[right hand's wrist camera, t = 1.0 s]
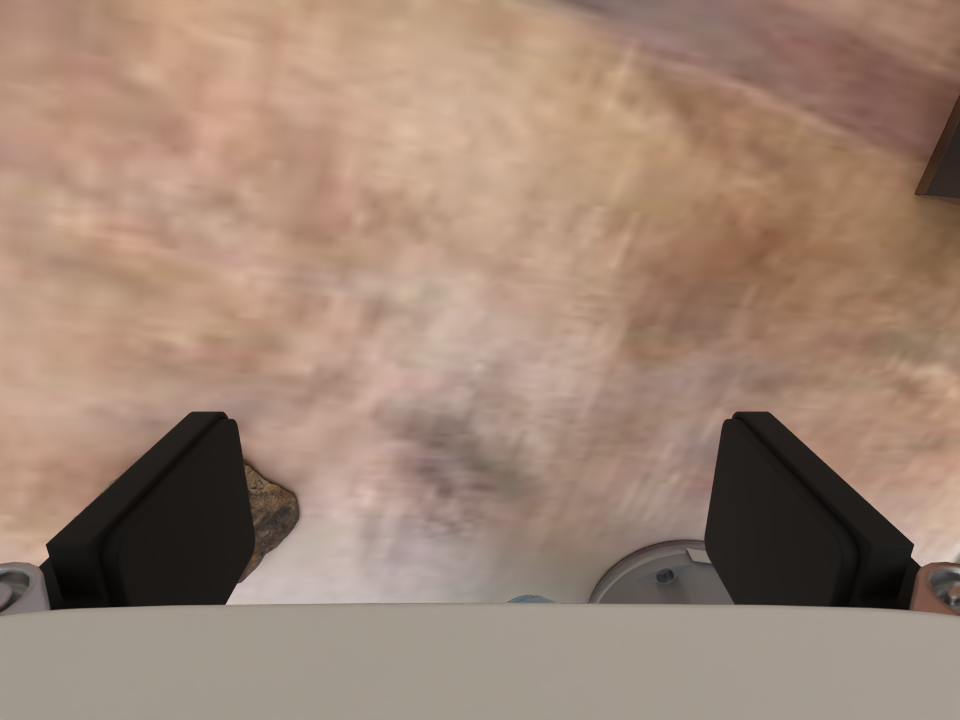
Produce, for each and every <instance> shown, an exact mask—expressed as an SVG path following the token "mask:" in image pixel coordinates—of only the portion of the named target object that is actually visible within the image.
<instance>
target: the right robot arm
mask: <svg viewBox="0 0 960 720" xmlns="http://www.w3.org/2000/svg"><path fill="white" fill-rule="evenodd" d="M255 541H256V539H255V531H254V524H253V518H252V512H251V506H250V499H249V493H248V487H247V481H246V474H245V468H244V462H243V456H242V449H241V443H240V437H239V431H238V426H237V423H236V421H235V420H234V419H228V417H227V415H226V414H225V413H224V412H191V413H189V414H188V415H187V416H186V417H185V418H184V419H183V420H181V421H180V422H179V423H178V424H177V425H176V426H175V427H174V428H173V429H172V430H171V431H169V432H168V433H167V434H166V435H165V436H164V437H163V438H162V439H161V440H160V441H159V442H157V443H156V444H155V445H154V446H153V447H152V448H151V449H150V450H149V451H148V452H147V453H145V454H144V455H143V456H142V457H141V458H140V459H139V460H138V461H137V462H136V463H134V464H133V465H132V466H131V467H130V468H129V469H128V470H127V471H126V472H125V473H124V474H122V475H121V476H120V477H119V478H118V479H117V480H116V481H115V482H114V483H113V484H112V485H110V486H109V487H108V488H107V489H106V490H105V491H104V492H103V493H102V494H101V495H100V496H98V497H97V498H96V499H95V500H94V501H93V502H92V503H91V504H90V505H89V506H87V507H86V508H85V509H84V510H83V511H82V512H81V513H80V514H79V515H78V516H77V517H75V518H74V519H73V520H72V521H71V522H70V523H69V524H68V525H67V526H66V527H65V528H63V529H62V530H61V531H60V532H59V533H58V534H57V535H56V536H55V537H54V538H53V539H51V540H50V541H49V542H48V543H47V544H46V547H47V550H48V553H49V558H48V559H47V560H46V561H45V562H44V563H43V564H41V565H40V566H39V567H37V566H35V565H33V564H30V563H22V562H11V563H3V564H0V720H960V564H957V563H949V562H938V563H930V564H927V565H925V566H923V567H921V566H920V565H919V564H917V563H916V562H915V561H914V560H913V559H912V558H911V553H912V550H913V547H914V544H913V543H912V542H911V541H910V540H909V539H907V538H906V537H905V536H904V535H903V534H902V533H901V532H900V531H899V530H898V529H897V528H895V527H894V526H893V525H892V524H891V523H890V522H889V521H888V520H887V519H886V518H885V517H883V516H882V515H881V514H880V513H879V512H878V511H877V510H876V509H875V508H874V507H873V506H871V505H870V504H869V503H868V502H867V501H866V500H865V499H864V498H863V497H862V496H860V495H859V494H858V493H857V492H856V491H855V490H854V489H853V488H852V487H851V486H850V485H848V484H847V483H846V482H845V481H844V480H843V479H842V478H841V477H840V476H839V475H838V474H836V473H835V472H834V471H833V470H832V469H831V468H830V467H829V466H828V465H827V464H826V463H824V462H823V461H822V460H821V459H820V458H819V457H818V456H817V455H816V454H815V453H813V452H812V451H811V450H810V449H809V448H808V447H807V446H806V445H805V444H804V443H803V442H801V441H800V440H799V439H798V438H797V437H796V436H795V435H794V434H793V433H792V432H791V431H789V430H788V429H787V428H786V427H785V426H784V425H783V424H782V423H781V422H780V421H779V420H777V419H776V418H775V417H774V416H773V415H772V414H771V413H769V412H736V413H735V414H734V415H733V417H732V419H726V420H725V421H724V423H723V426H722V431H721V437H720V443H719V449H718V456H717V462H716V468H715V474H714V481H713V487H712V493H711V499H710V506H709V512H708V518H707V524H706V531H705V539H704V541H705V549H706V553H707V555H708V558H709V559H710V561H711V563H712V565H713V567H714V568H715V570H716V572H717V574H718V576H719V577H720V579H721V581H722V583H723V585H724V586H725V588H726V590H727V592H728V594H729V595H730V597H731V599H732V601H733V603H734V604H735V605H695V604H583V603H355V604H266V605H225V604H226V603H227V601H228V599H229V597H230V595H231V594H232V592H233V590H234V588H235V586H236V585H237V583H238V581H239V579H240V577H241V576H242V574H243V572H244V570H245V568H246V567H247V565H248V563H249V561H250V559H251V558H252V555H253V553H254V549H255Z"/></svg>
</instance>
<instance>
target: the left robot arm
mask: <svg viewBox="0 0 960 720" xmlns="http://www.w3.org/2000/svg"><path fill="white" fill-rule="evenodd" d="M507 603H555V602H553V601H551V600H548V599H546V598H543V597H540V596H532V595H525V596H520V597H517V598H514V599H512V600H510V601H509V602H507ZM589 604H695V605H735V604H734V603H733V601H732V599H731V597H730V595H729V594H728V592H727V590H726V588H725V586H724V585H723V583H722V581H721V579H720V577H719V576H718V574H717V572H716V570H715V568H714V567H713V565H712V563H711V561H710V559H709V558H708V555H707V553H706V549H705V542H701V541H673V542H666V543H661V544H657V545H654V546H650V547H648V548H645V549H642V550H640V551H638V552H636V553H634V554H632V555H630V556H628V557H627V558H625V559H623V560H622V561H620V562H619V563H618V564H617V565H615V566H614V567H613V568H612V569H611V570H610V571H609V572H608V573H607V574H606V575H605V576H604V577H603V578H602V579H601V581H600V582H599V584H598V585H597V587H596V588H595V590H594V592H593V594H592V597H591V599H590V602H589Z"/></svg>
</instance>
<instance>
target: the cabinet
mask: <svg viewBox="0 0 960 720" xmlns="http://www.w3.org/2000/svg"><path fill="white" fill-rule="evenodd" d="M915 195H919V196H923V197H928V198H932V199H936V200H940V201H944V202H949V203H953V204H957V205H960V96H959V98H958V101H957V103H956V105H955V107H954V109H953V112H952V114H951V116H950V118H949V120H948V123H947V125H946V127H945V129H944V131H943V134H942V136H941V138H940V140H939V142H938V144H937V147H936V149H935V151H934V153H933V155H932V158H931V160H930V162H929V164H928V166H927V169H926V171H925V173H924V175H923V177H922V180H921V182H920V184H919V186H918V188H917V191H916V193H915Z"/></svg>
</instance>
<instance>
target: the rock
mask: <svg viewBox="0 0 960 720" xmlns="http://www.w3.org/2000/svg"><path fill="white" fill-rule="evenodd" d="M244 468H245V474H246V481H247V487H248V493H249V499H250V506H251V512H252V518H253V524H254V531H255V539H256V541H255V549H254V553H253V555H252V558H251V559H250V561H249V563H248V565H247V567H246V568H245V570H244V572H243V574H242V576H241V577H240V579H239V581H238V583H241V582H242V581H243V580H244V579H245V578H246V577H247V576H248V575H249V574H250V573H251V572H253V571H254V570H255V569H256V568H257V567H258V565H259V564H260V563H261V561H262V559H263V557H264V556H265V554H267V553H268V552H270V551H271V550H273V549H275V548H276V547H277V546H278V545H279V544H280V543H281V542H282V541H283V539H284V538H285V537H286V536H287V535H289V533H290V532H291V531H292V530H293V528H294V526H295V525H296V523H297V521H298V520H299V515H298V507H297V503H296V499H295V497H294V496H293V494H291V493H289V492H288V491H286V490H284V489H282V488H280V487H279V486H278V485H275V484H270V483H269V482H268V481H266V480H264V479H263V478H262V477H261V476H260V475H259V474H258V473H257V472H255V471H254V470H252V468H251V466H247V465H245V464H244ZM116 480H117V479H116ZM116 480H114V481H112V482H110V483H109V484H108V485H107V487H106V489H107V488H108V487H109V486H110V485H112V484H113V483H114V482H115V481H116ZM106 489H105V490H106ZM105 490H104V491H105ZM104 491H103V492H104ZM103 492H102V493H103ZM102 493H101V494H102ZM101 494H100V495H101ZM76 517H77V516H76ZM238 583H237V584H238Z"/></svg>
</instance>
